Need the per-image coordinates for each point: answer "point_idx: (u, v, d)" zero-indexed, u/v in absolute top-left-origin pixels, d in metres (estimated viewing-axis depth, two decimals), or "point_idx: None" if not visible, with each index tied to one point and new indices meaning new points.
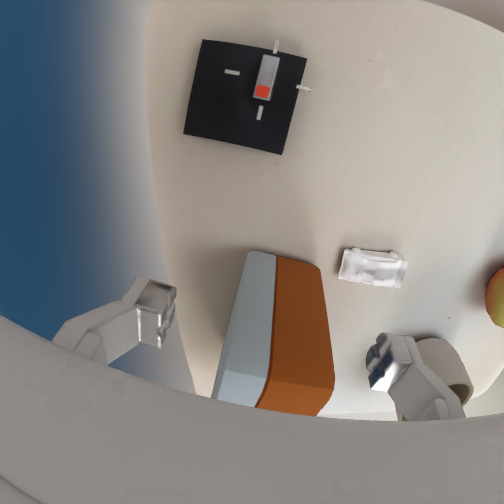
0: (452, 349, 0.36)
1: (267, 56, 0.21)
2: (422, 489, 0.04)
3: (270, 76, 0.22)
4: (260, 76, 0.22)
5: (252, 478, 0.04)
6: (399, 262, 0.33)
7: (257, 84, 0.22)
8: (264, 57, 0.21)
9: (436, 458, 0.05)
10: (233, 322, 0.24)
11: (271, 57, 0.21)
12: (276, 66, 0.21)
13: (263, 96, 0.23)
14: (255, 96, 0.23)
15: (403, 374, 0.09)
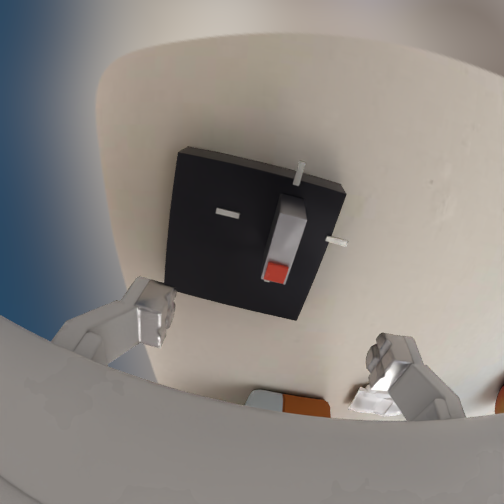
0: None
1: (286, 216, 0.14)
2: (422, 489, 0.04)
3: (289, 250, 0.15)
4: (273, 249, 0.15)
5: (252, 478, 0.04)
6: None
7: (268, 262, 0.16)
8: (281, 218, 0.15)
9: (436, 458, 0.05)
10: None
11: (293, 219, 0.14)
12: (300, 234, 0.15)
13: (277, 281, 0.16)
14: (264, 278, 0.16)
15: (403, 374, 0.09)
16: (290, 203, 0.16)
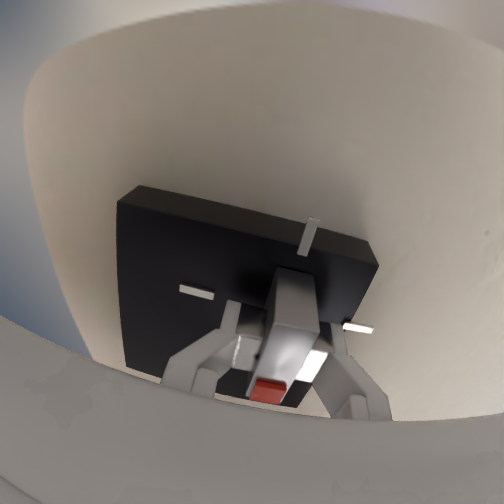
0: None
1: (285, 328, 0.08)
2: (422, 489, 0.04)
3: (288, 368, 0.09)
4: (263, 367, 0.09)
5: (252, 477, 0.04)
6: None
7: (255, 381, 0.10)
8: (276, 330, 0.08)
9: (436, 458, 0.05)
10: None
11: (296, 331, 0.08)
12: (307, 350, 0.09)
13: (269, 402, 0.10)
14: None
15: (323, 364, 0.09)
16: (292, 291, 0.10)
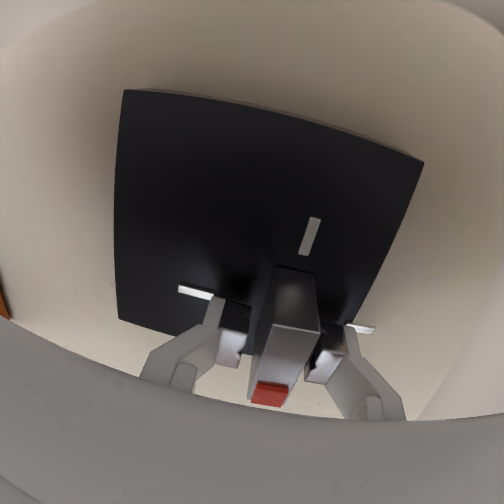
0: None
1: (284, 330, 0.08)
2: (422, 489, 0.04)
3: (289, 370, 0.09)
4: (263, 369, 0.09)
5: (252, 477, 0.04)
6: None
7: (256, 384, 0.09)
8: (275, 332, 0.08)
9: (436, 458, 0.05)
10: None
11: (296, 333, 0.08)
12: (308, 352, 0.08)
13: (271, 405, 0.10)
14: None
15: (338, 366, 0.09)
16: (291, 291, 0.09)
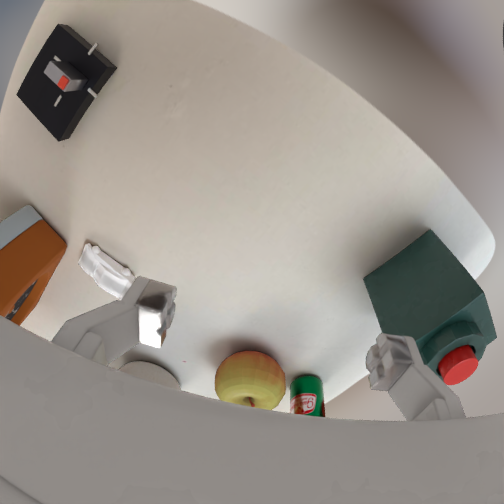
0: None
1: (45, 69, 0.19)
2: (422, 489, 0.04)
3: (57, 72, 0.20)
4: (54, 80, 0.20)
5: (252, 478, 0.04)
6: (124, 280, 0.34)
7: (57, 84, 0.20)
8: (45, 72, 0.20)
9: (436, 458, 0.05)
10: None
11: (47, 67, 0.19)
12: (53, 65, 0.19)
13: (65, 83, 0.20)
14: (64, 89, 0.21)
15: (402, 374, 0.09)
16: None
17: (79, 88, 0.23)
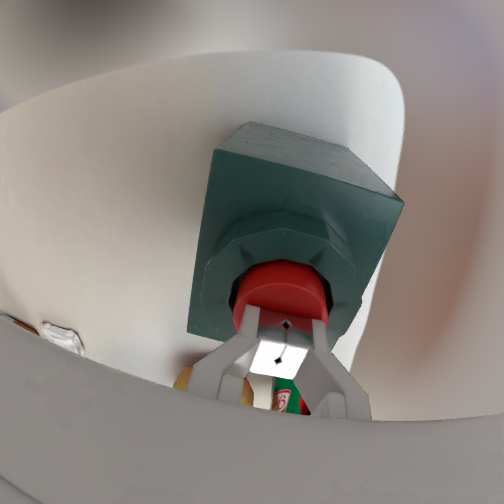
0: None
1: None
2: (422, 489, 0.04)
3: None
4: None
5: (252, 478, 0.04)
6: (69, 340, 0.35)
7: None
8: None
9: (436, 458, 0.05)
10: None
11: None
12: None
13: None
14: None
15: (303, 361, 0.09)
16: None
17: None
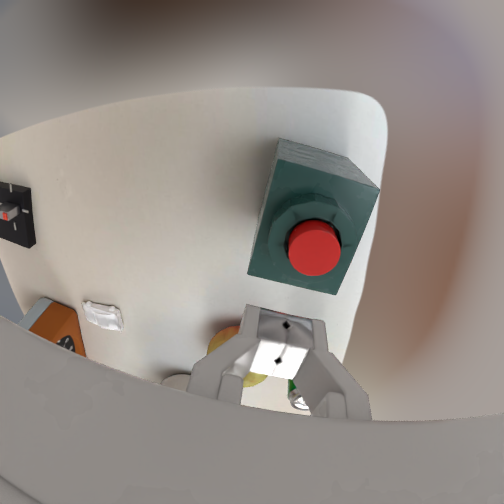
0: None
1: None
2: (422, 489, 0.04)
3: (0, 213, 0.33)
4: (1, 217, 0.34)
5: (252, 477, 0.04)
6: (111, 314, 0.44)
7: None
8: None
9: (436, 458, 0.05)
10: None
11: None
12: None
13: (5, 216, 0.33)
14: (7, 219, 0.34)
15: (303, 361, 0.09)
16: None
17: (17, 212, 0.36)
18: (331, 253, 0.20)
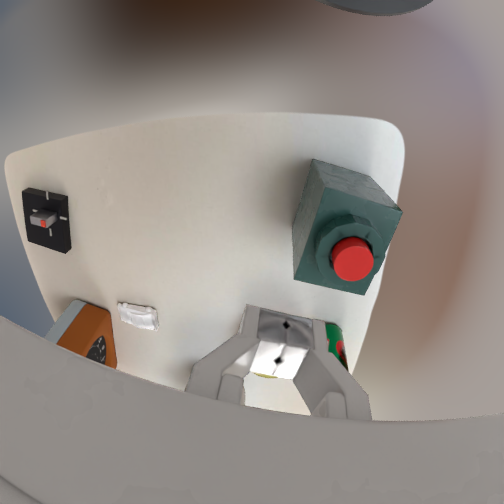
0: None
1: (31, 221, 0.39)
2: (422, 489, 0.04)
3: (37, 220, 0.38)
4: (38, 224, 0.39)
5: (252, 477, 0.04)
6: (148, 315, 0.49)
7: None
8: (31, 223, 0.39)
9: (436, 458, 0.05)
10: None
11: None
12: (33, 217, 0.38)
13: (44, 223, 0.38)
14: (46, 226, 0.39)
15: (303, 361, 0.09)
16: None
17: (55, 219, 0.41)
18: (366, 263, 0.25)
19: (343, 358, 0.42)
